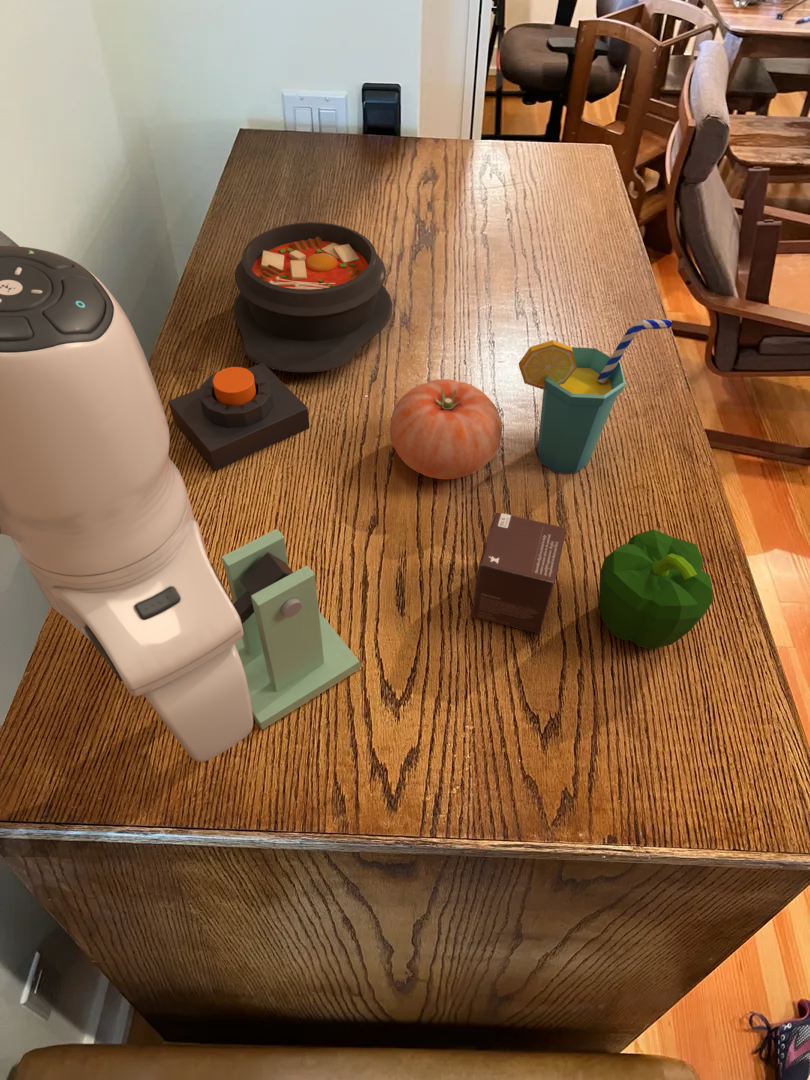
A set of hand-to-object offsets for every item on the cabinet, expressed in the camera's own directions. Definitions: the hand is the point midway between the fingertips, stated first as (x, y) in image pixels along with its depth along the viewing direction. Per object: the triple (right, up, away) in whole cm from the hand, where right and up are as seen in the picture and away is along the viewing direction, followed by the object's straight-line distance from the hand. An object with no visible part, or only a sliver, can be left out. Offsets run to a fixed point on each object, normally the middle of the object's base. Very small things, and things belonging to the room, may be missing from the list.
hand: (169, 671), depth 53 cm
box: (+25, +4, +14) cm, 29 cm away
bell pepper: (+36, +2, +13) cm, 38 cm away
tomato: (+20, +17, +25) cm, 36 cm away
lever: (+4, +3, +2) cm, 5 cm away
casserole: (+5, +35, +39) cm, 53 cm away
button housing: (-1, +21, +27) cm, 34 cm away
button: (-1, +24, +24) cm, 33 cm away
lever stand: (+7, -1, +9) cm, 11 cm away
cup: (+33, +18, +25) cm, 45 cm away
